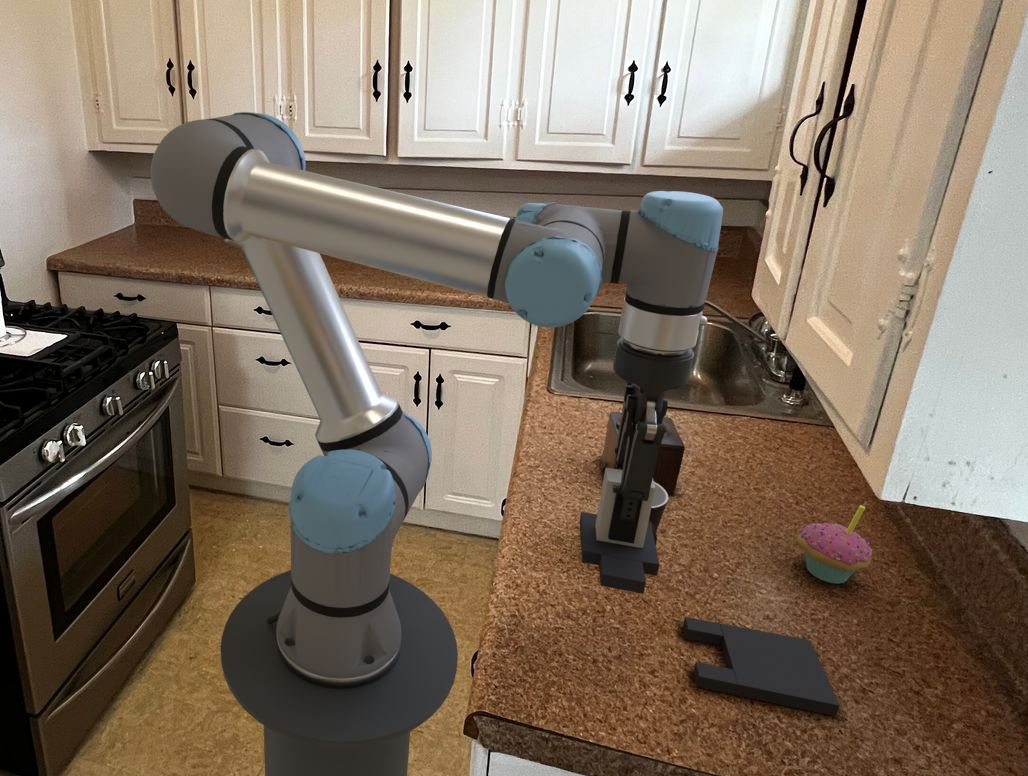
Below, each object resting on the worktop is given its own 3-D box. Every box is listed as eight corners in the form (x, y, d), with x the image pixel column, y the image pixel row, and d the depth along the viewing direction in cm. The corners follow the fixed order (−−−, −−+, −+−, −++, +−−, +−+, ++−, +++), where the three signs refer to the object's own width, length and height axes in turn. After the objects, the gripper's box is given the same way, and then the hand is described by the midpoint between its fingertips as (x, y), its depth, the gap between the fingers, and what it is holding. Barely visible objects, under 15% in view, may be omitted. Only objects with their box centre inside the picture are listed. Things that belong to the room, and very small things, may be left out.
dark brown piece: (596, 456, 133) (611, 364, 126) (662, 463, 131) (681, 370, 124) (609, 505, 119) (627, 404, 112) (683, 513, 117) (706, 411, 110)
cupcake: (845, 557, 107) (868, 486, 102) (875, 597, 99) (902, 522, 95) (780, 550, 108) (800, 479, 104) (806, 589, 100) (828, 514, 96)
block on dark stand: (579, 522, 92) (590, 454, 88) (648, 534, 90) (663, 465, 86) (582, 582, 81) (596, 508, 78) (661, 597, 79) (678, 522, 76)
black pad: (696, 687, 85) (699, 676, 84) (682, 626, 94) (684, 616, 93) (835, 716, 81) (839, 705, 81) (807, 650, 90) (810, 640, 90)
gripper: (710, 377, 69) (663, 580, 78) (682, 321, 84) (646, 498, 92) (624, 367, 71) (588, 566, 80) (612, 314, 86) (582, 488, 94)
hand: (619, 529), depth 86 cm, fingers closed on block on dark stand, 3 cm apart
